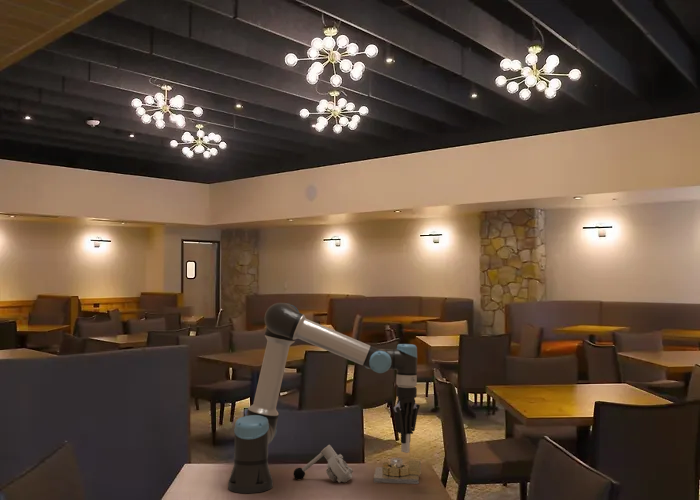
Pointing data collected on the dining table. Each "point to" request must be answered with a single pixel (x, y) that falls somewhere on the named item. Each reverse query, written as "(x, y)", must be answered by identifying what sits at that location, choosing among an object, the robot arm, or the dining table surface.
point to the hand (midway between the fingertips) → (405, 451)
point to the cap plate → (384, 478)
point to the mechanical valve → (329, 466)
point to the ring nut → (406, 469)
